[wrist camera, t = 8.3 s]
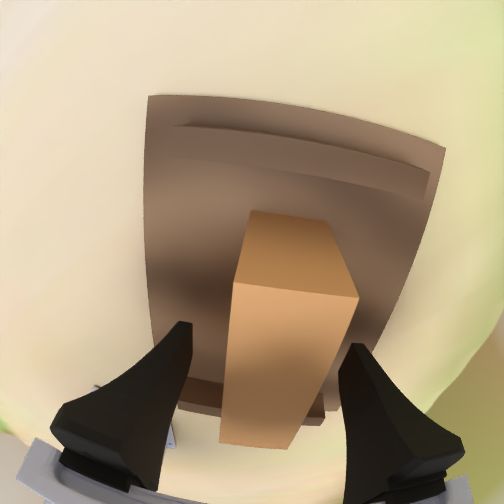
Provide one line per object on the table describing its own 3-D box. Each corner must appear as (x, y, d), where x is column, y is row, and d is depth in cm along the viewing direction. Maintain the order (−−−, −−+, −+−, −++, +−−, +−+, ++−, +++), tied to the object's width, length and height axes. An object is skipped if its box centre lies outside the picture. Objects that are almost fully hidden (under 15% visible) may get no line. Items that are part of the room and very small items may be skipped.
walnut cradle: (335, 403, 20) (339, 433, 18) (164, 381, 21) (153, 411, 18) (438, 146, 11) (471, 155, 9) (155, 96, 11) (125, 93, 9)
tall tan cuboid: (286, 367, 17) (286, 449, 12) (232, 361, 17) (218, 442, 12) (326, 221, 13) (359, 298, 8) (250, 210, 13) (233, 282, 8)
